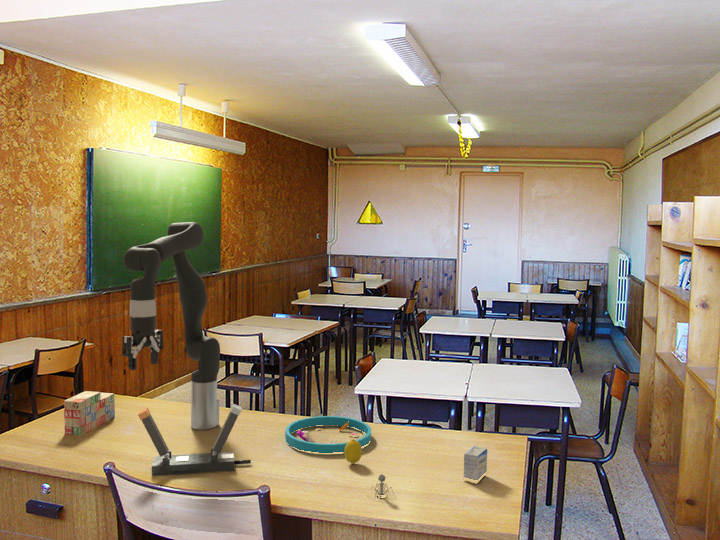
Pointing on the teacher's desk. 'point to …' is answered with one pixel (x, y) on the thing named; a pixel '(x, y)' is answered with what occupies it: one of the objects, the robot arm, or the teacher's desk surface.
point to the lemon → (353, 451)
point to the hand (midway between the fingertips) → (143, 366)
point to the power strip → (195, 463)
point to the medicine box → (475, 463)
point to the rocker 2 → (226, 429)
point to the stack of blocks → (87, 411)
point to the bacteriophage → (381, 485)
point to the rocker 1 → (154, 432)
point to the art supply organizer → (324, 420)
